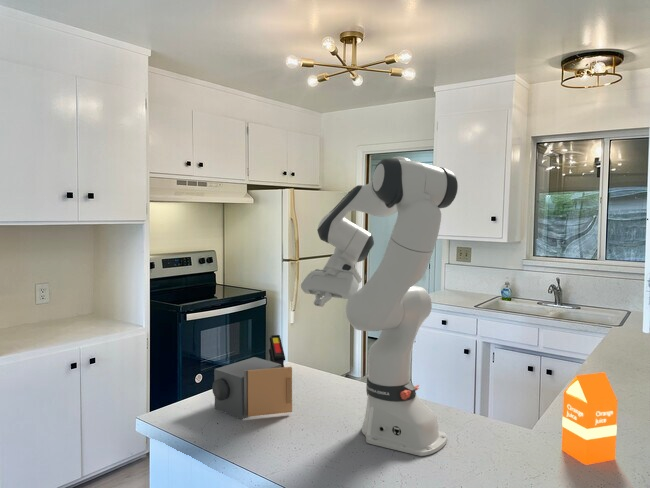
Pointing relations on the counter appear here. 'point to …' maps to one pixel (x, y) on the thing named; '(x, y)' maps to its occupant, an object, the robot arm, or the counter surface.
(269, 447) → the counter surface
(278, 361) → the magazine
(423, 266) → the robot arm
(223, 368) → the camera box
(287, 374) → the side door
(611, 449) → the orange juice
